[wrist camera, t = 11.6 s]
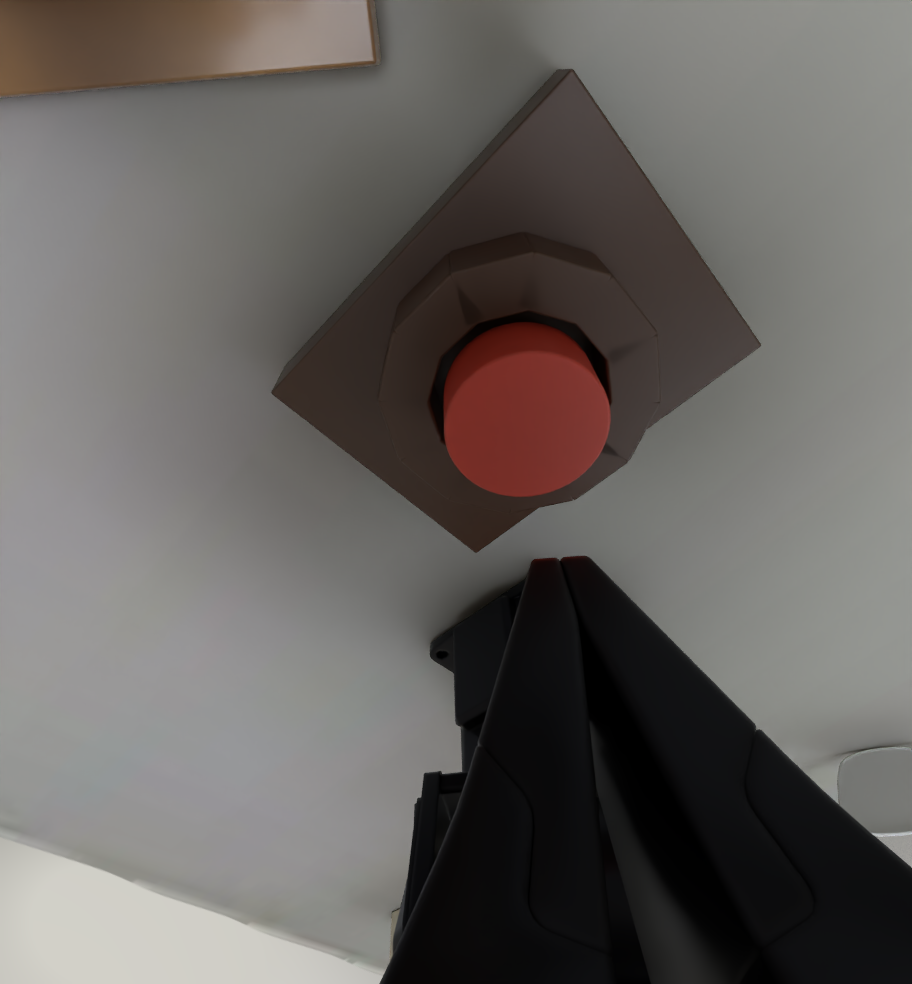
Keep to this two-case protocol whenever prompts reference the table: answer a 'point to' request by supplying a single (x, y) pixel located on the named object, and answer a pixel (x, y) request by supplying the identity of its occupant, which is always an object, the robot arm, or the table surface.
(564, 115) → the button box
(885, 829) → the eyeglasses
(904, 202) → the table surface
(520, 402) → the red button
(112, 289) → the table surface
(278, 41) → the switch bracket
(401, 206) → the table surface
